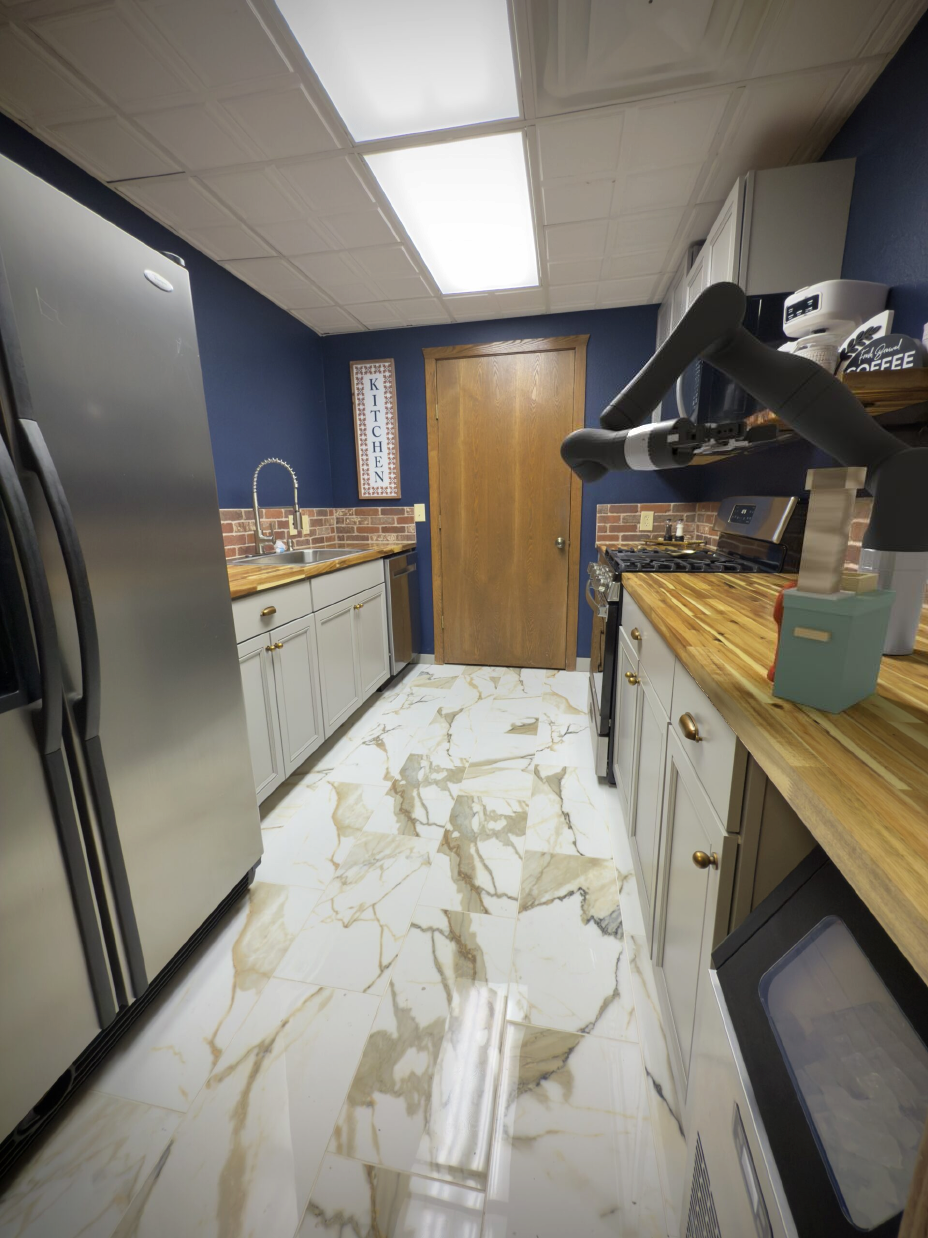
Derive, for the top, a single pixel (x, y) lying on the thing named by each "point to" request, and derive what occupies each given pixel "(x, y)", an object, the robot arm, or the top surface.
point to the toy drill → (778, 619)
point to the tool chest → (832, 643)
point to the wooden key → (828, 527)
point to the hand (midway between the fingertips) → (762, 430)
